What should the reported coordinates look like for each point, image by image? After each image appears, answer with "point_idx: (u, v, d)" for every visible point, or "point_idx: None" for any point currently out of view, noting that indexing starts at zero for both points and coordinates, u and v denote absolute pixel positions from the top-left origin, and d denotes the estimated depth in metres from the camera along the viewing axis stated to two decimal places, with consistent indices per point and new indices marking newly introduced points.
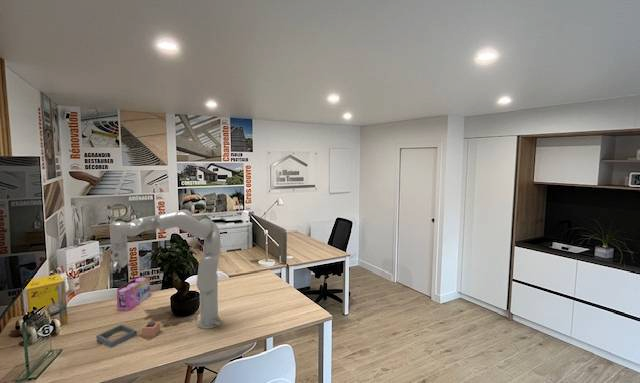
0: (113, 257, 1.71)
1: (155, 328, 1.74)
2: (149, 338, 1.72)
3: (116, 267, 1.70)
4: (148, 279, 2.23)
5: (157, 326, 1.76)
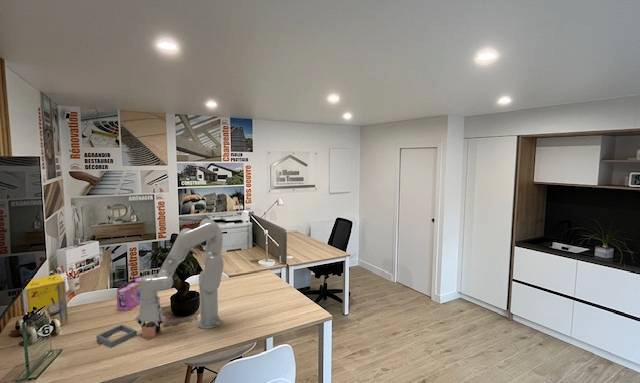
0: (157, 310, 1.73)
1: (155, 328, 1.74)
2: (149, 338, 1.72)
3: None
4: None
5: None
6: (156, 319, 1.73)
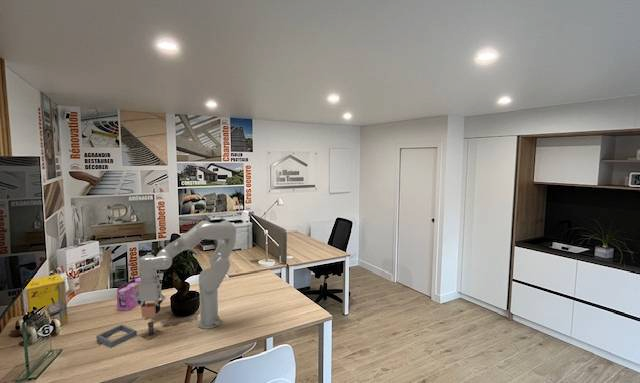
0: (157, 289, 1.72)
1: (155, 308, 1.73)
2: (149, 338, 1.72)
3: None
4: None
5: None
6: (156, 299, 1.72)
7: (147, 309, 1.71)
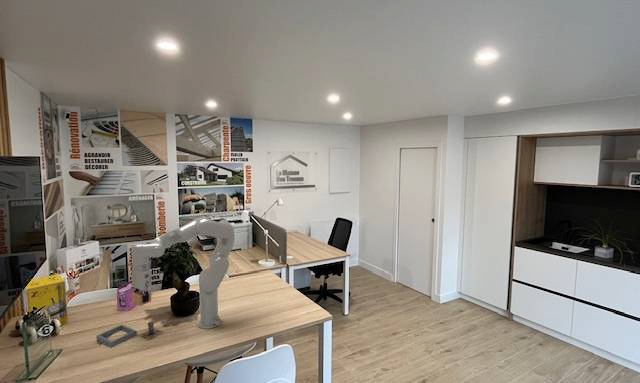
0: (144, 279, 1.68)
1: None
2: (149, 338, 1.72)
3: None
4: None
5: None
6: (142, 288, 1.68)
7: (135, 296, 1.70)
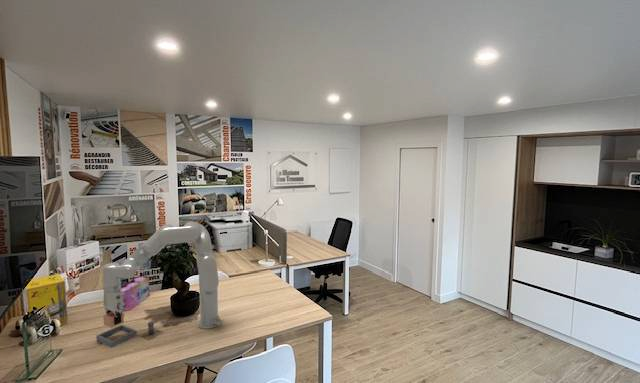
0: (115, 300, 1.66)
1: (113, 318, 1.67)
2: (149, 338, 1.72)
3: None
4: (147, 279, 2.23)
5: None
6: (113, 309, 1.66)
7: (106, 318, 1.67)
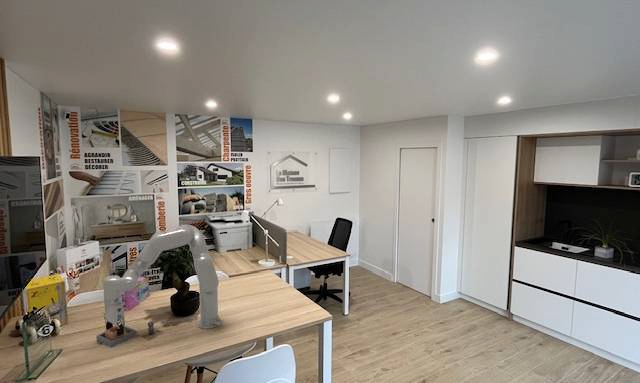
0: (116, 313, 1.66)
1: (115, 334, 1.68)
2: (149, 338, 1.72)
3: None
4: (147, 279, 2.23)
5: None
6: (114, 322, 1.67)
7: (108, 333, 1.69)
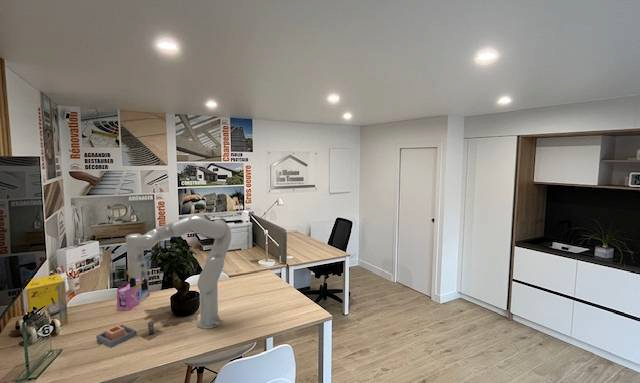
0: (139, 268, 1.74)
1: (115, 334, 1.68)
2: (149, 338, 1.72)
3: None
4: None
5: (119, 332, 1.70)
6: (138, 277, 1.74)
7: (108, 333, 1.69)
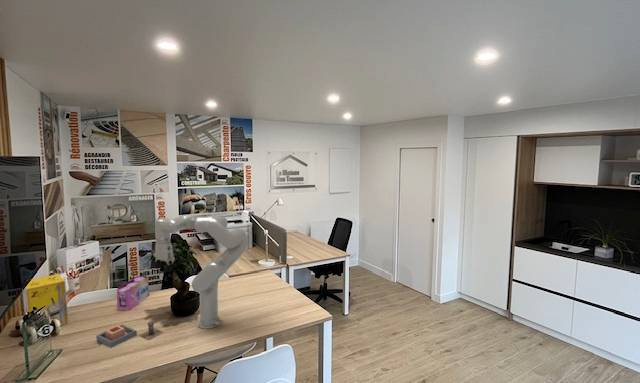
0: (166, 251, 1.84)
1: (115, 334, 1.68)
2: (149, 338, 1.72)
3: (173, 258, 1.85)
4: (147, 279, 2.24)
5: (119, 332, 1.70)
6: (165, 259, 1.85)
7: (108, 333, 1.69)
